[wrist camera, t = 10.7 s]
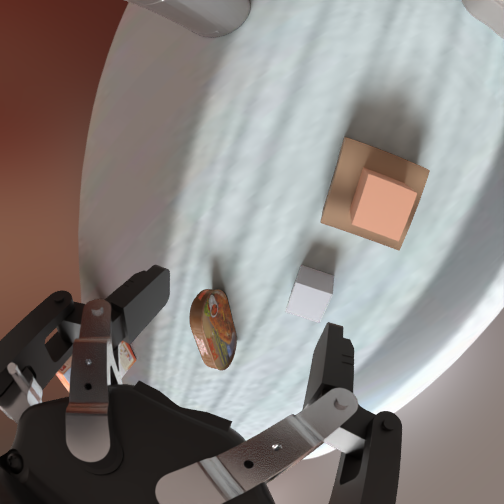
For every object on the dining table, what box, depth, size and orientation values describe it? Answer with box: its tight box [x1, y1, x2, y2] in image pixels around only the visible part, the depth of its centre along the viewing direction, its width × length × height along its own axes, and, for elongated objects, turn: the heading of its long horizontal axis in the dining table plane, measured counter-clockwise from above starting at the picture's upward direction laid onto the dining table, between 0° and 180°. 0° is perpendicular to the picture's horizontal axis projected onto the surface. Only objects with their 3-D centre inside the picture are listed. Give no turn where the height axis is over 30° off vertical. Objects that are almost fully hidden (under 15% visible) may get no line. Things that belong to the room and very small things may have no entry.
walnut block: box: [321, 137, 430, 250], centre depth 29 cm, size 10×10×5 cm
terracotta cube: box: [350, 167, 417, 241], centre depth 25 cm, size 5×5×5 cm
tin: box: [190, 289, 237, 370], centre depth 43 cm, size 15×3×8 cm, turn 9°
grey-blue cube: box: [285, 265, 334, 323], centre depth 37 cm, size 5×5×5 cm
